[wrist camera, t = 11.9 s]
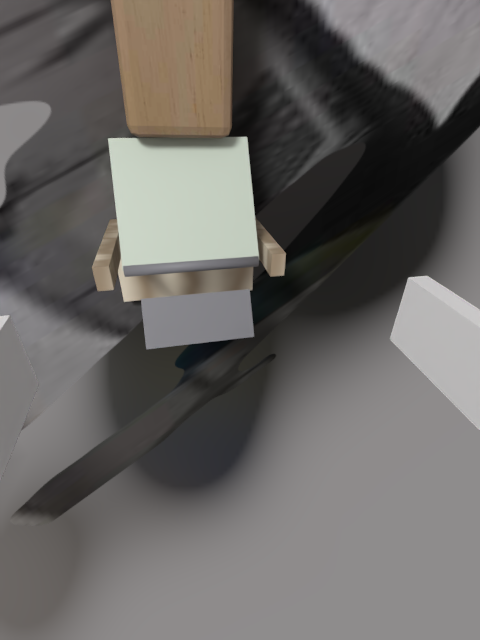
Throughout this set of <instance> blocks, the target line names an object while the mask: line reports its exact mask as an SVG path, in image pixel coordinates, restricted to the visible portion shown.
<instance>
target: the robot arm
mask: <svg viewBox="0 0 480 640" xmlns="http://www.w3.org/2000/svg"><path fill="white" fill-rule="evenodd" d="M390 340H391V341H392V342H393V343H394V344H395V345H396V346H397V347H398V348H399V349H400V350H401V351H402V352H403V353H404V354H405V355H406V356H407V357H408V358H409V359H410V360H411V361H412V362H413V363H414V364H415V365H416V366H417V367H418V368H419V369H420V370H421V371H422V372H423V373H424V374H425V375H426V376H427V377H428V379H429V380H430V381H431V382H432V383H433V384H434V385H435V386H436V387H437V388H438V389H439V390H440V391H441V392H442V393H443V394H444V395H445V396H446V397H447V398H448V399H449V400H450V401H451V402H452V403H453V404H454V405H455V406H456V407H457V408H458V409H459V410H460V411H461V412H462V413H463V414H464V415H465V416H466V417H467V418H468V419H469V420H470V421H471V422H472V423H473V424H474V425H475V426H476V427H477V428H478V429H479V430H480V310H479V309H478V308H476V307H475V306H473V305H472V304H470V303H468V302H467V301H465V300H464V299H462V298H461V297H459V296H458V295H456V294H455V293H453V292H451V291H450V290H448V289H447V288H445V287H444V286H442V285H440V284H439V283H437V282H436V281H434V280H433V279H431V278H430V277H428V276H420V277H409V278H408V281H407V284H406V287H405V291H404V294H403V297H402V301H401V304H400V308H399V311H398V314H397V317H396V320H395V324H394V327H393V330H392V334H391V337H390ZM38 387H39V383H38V380H37V378H36V376H35V373H34V371H33V369H32V366H31V364H30V361H29V359H28V357H27V354H26V352H25V350H24V347H23V345H22V342H21V340H20V338H19V335H18V333H17V331H16V328H15V326H14V323H13V321H12V319H11V316H10V315H7V316H0V481H1V479H2V476H3V474H4V471H5V469H6V466H7V464H8V461H9V459H10V456H11V454H12V451H13V449H14V446H15V444H16V441H17V439H18V436H19V434H20V432H21V429H22V427H23V424H24V422H25V419H26V417H27V414H28V412H29V409H30V407H31V404H32V402H33V399H34V397H35V394H36V392H37V389H38Z"/></svg>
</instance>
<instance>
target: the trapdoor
mask: <svg viewBox="0 0 480 640" xmlns="http://www.w3.org/2000/svg"><path fill="white" fill-rule="evenodd" d="M108 142H109V151H110V160H111V169H112V178H113V187H114V196H115V205H116V214H117V223H118V232H119V241H120V251H121V260H122V269H123V271H124V276H125V277H131V276H144V275H157V274H169V273H182V272H195V271H207V270H220V269H233V268H246V267H257V266H259V252H258V242H257V232H256V221H255V211H254V201H253V191H252V181H251V171H250V160H249V150H248V140H247V137H223V138H108ZM141 305H142V314H143V323H144V332H145V341H146V349H153V348H161V347H170V346H178V345H187V344H196V343H204V342H213V341H222V340H230V339H239V338H248V337H254V329H253V319H252V309H251V299H250V289H245V290H234V291H223V292H212V293H201V294H190V295H179V296H168V297H157V298H146V299H141Z"/></svg>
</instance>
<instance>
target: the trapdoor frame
mask: <svg viewBox="0 0 480 640" xmlns="http://www.w3.org/2000/svg"><path fill="white" fill-rule="evenodd" d="M255 221H256V232H257V242H258V252H259V259H260V261H261V262H262V264H263V266H264V267H265V269H266V270H267V272H268V273H269V275H270V276H271V277H272V276H283V275H284V270H285V259H286V253H285V252H284V251H283V249H282V248H281V247H280V246H279V245H278V243H276V241H275V240H274V239H273V237H272V236H271V235H270V234H269V233H268V232H267V230H266V229H265V228H264V227H263V226H262V225H261V223H260V222H259V221H258V220H257V219H256V217H255ZM92 270H93V274H94V278H95V282H96V286H97V290H98V291H106V290H114V287H115V282H116V278H117V273H118V274H119V279H120V284H121V289H122V294H123V299H124V302H126V301H137V300H141V299H146V298H157V297H168V296H179V295H190V294H201V293H212V292H223V291H234V290H245V289H250V290H253V267H246V268H233V269H220V270H207V271H195V272H182V273H169V274H157V275H144V276H131V277H125V276H124V271H123V269H122V260H121V251H120V241H119V232H118V223H117V219H111V220H110V221H109V224H108V227H107V229H106V232H105V234H104V237H103V240H102V242H101V245H100V248H99V250H98V253H97V256H96V258H95V261H94V264H93V266H92Z"/></svg>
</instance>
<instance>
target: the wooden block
mask: <svg viewBox="0 0 480 640" xmlns="http://www.w3.org/2000/svg"><path fill="white" fill-rule="evenodd" d="M233 4H234V0H111V5H112V13H113V20H114V28H115V36H116V44H117V51H118V59H119V67H120V74H121V82H122V90H123V97H124V105H125V113H126V120H127V126H128V128H129V130H130V132H131V134H134V135H136V136H138V137H169V138H223V137H226V136H228V135H229V133H230V131H231V128H232V79H233Z"/></svg>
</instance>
